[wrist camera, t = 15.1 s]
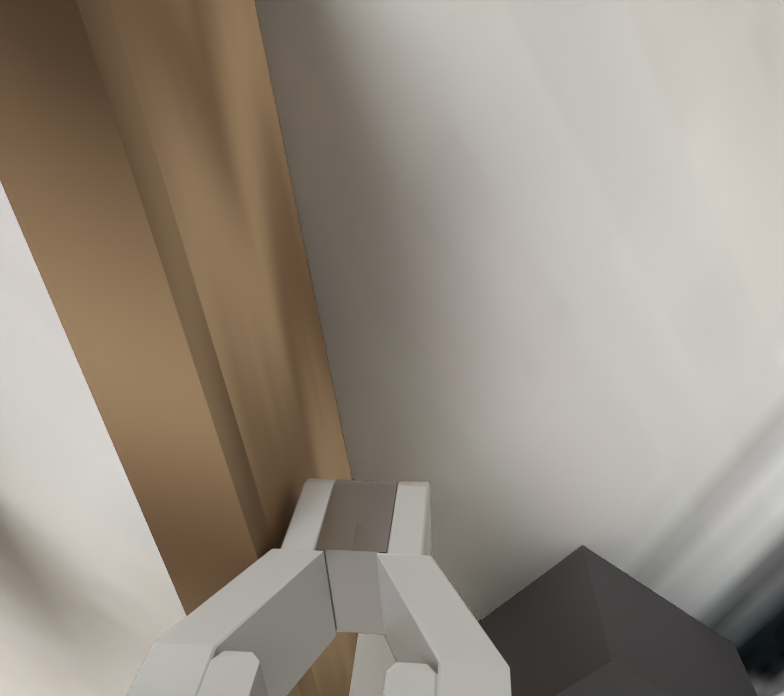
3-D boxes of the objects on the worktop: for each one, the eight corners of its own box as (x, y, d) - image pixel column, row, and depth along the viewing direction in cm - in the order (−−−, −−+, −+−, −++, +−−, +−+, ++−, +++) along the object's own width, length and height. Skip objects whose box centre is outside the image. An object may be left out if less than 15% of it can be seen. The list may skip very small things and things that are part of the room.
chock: (603, 710, 20) (631, 837, 17) (461, 628, 18) (464, 751, 15) (731, 638, 18) (790, 768, 15) (581, 539, 16) (611, 661, 13)
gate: (171, -3, 10) (-86, -19, 5) (251, -16, 10) (62, -44, 5) (317, 561, 16) (262, 792, 12) (368, 560, 16) (334, 794, 11)
